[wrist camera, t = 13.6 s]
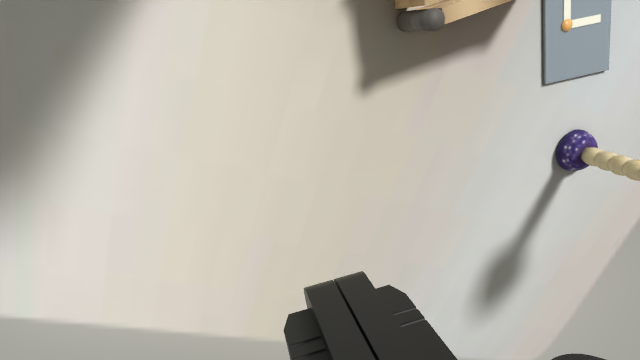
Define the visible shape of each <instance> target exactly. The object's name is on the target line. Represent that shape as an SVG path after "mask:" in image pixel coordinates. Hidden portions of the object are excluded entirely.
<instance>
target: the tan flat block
mask: <svg viewBox="0 0 640 360" xmlns="http://www.w3.org/2000/svg"><path fill="white" fill-rule="evenodd" d="M394 1H395V9H400V8H407V7H415V6H423V5H429V4H434V3H439V2H440V0H394Z"/></svg>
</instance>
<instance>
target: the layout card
mask: <svg viewBox="0 0 640 360" xmlns="http://www.w3.org/2000/svg"><path fill="white" fill-rule="evenodd" d="M610 24H611V0H543V63H544V84H548V83H553V82H557V81H562V80H566V79H570V78H575V77H579V76H583V75H588V74H592V73H596V72H601V71H605V70H609V48H610Z"/></svg>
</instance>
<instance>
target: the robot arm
mask: <svg viewBox="0 0 640 360" xmlns="http://www.w3.org/2000/svg"><path fill="white" fill-rule="evenodd" d="M304 294H305V299H306V303H307V308H308V309H306V310H302V311H299V312H295V313H292V314H289V315H288V318H287V321H286V325H285V328H284V334H285V338H286V342H287V346H288V351H289V355H290V359H291V360H457V359H456V357H455V356H454V355H453V353H452V352H451V351H450V350H449V348H448V347H447V346H446V344H445V343H444V342H443V341H442V339H441V338H440V337H439V336H438V334H437V333H436V332H435V330H434V329H433V328H432V327H431V325H430V324H429V323H428V322H427V320H425V319H424V316H423V315H422V314H421V313H420V311H419V310H418V309H416V306H415V305H414V304H413V302H412V301H411V300H410V299H409V297H408V296H407V295H406V294H405V293H403V292H402V291H400V290H398V289H396V288H394V287H392V286H390V285H387V286H383V287H380V288H377V289H375V288H374V286H373V285H372V283H371V282H370V280H369V279H368V277H367V276H366V274H365V273H364V272H363V271H361V272H358V273H354V274H351V275H347V276H344V277H340V278H337V279H334V281H333V280H330V281H327V282H323V283H320V284H316V285H313V286H309V287H306V288H304ZM552 360H605V359H602V358H598V357H594V356H590V355H584V354H566V355H561V356H558V357H555V358H553V359H552Z"/></svg>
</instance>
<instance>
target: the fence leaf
mask: <svg viewBox="0 0 640 360" xmlns="http://www.w3.org/2000/svg"><path fill="white" fill-rule="evenodd" d="M508 1H511V0H443V1H440V2H439V3H434V4H431V5H429V6H426V7H423V8H420V9H417V10H412V11H404V12H402V13H401V14H400V15H399V16H398V18H397V25H398V27H399V29H400V30H402V31H437V30H439V29H440V28H442V26H443V25H444V24H447V23H450V22H453V21H456V20H458V19H461V18H464V17H467V16H470V15H472V14H475V13H478V12H481V11H483V10H486V9H489V8H492V7H495V6H497V5H500V4H503V3H506V2H508Z"/></svg>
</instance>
